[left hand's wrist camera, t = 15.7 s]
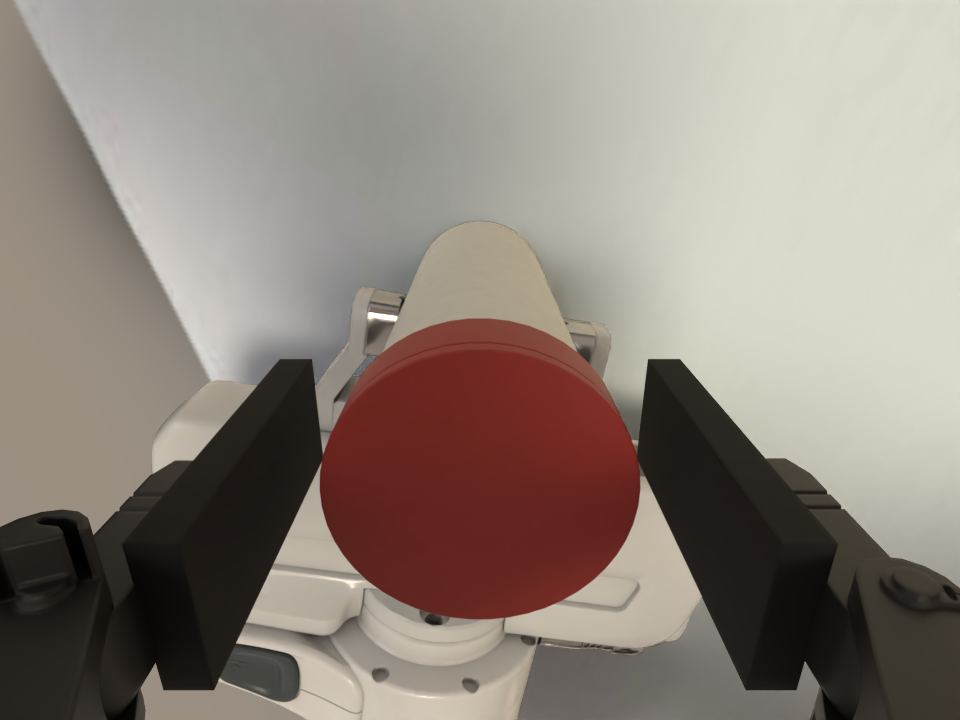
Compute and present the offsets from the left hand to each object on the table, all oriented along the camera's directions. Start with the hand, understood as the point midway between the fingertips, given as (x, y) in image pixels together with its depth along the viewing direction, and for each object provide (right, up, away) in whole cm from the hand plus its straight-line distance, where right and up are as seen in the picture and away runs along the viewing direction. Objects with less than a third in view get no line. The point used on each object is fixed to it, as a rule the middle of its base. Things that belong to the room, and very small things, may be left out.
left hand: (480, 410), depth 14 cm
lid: (0, -1, -3) cm, 3 cm away
